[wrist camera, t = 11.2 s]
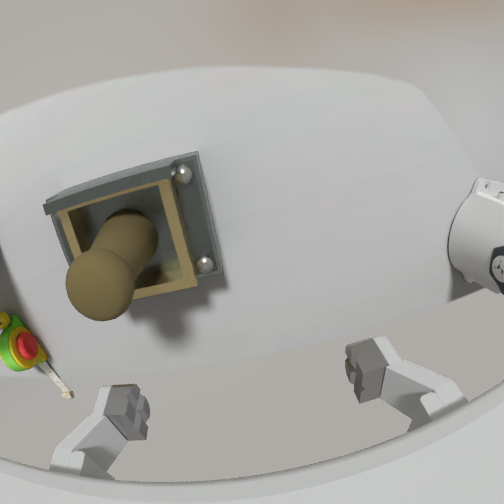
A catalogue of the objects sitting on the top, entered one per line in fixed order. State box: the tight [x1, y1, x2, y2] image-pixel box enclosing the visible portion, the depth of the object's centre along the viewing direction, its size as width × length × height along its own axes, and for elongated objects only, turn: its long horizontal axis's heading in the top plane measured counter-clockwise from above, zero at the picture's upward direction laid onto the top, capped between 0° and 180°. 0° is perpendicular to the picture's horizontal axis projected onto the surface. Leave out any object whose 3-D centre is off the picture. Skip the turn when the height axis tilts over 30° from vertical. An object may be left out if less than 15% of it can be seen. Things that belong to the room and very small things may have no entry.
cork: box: [65, 210, 158, 321], centre depth 23 cm, size 6×6×11 cm
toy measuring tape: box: [0, 312, 74, 399], centre depth 35 cm, size 6×20×7 cm, turn 16°
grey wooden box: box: [43, 151, 223, 300], centre depth 28 cm, size 16×12×9 cm
